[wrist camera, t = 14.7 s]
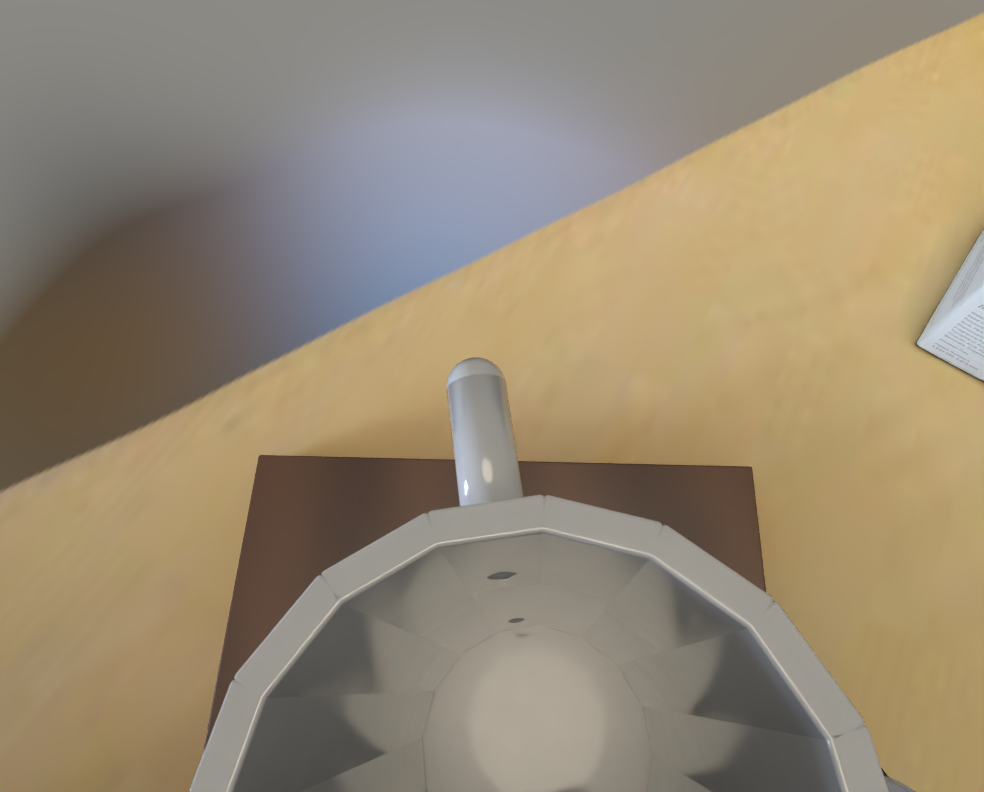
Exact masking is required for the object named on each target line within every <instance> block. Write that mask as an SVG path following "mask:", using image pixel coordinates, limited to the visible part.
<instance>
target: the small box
mask: <svg viewBox="0 0 984 792" xmlns="http://www.w3.org/2000/svg"><path fill="white" fill-rule="evenodd" d="M917 344H918V345H919V346H920V347H922V348H923V349H925V350H927V351H929V352H930V353H932V354H934V355H936V356H938V357H939V358H942V359H943V360H945V361H947V362H949V363H950V364H952V365H954V366H956V367H958V368H960V369H962V370H964V371H965V372H967V373H969V374H971V375H973V376H975V377H977V378H978V379H980V380H982V381H984V230H983V232H982V233H981V235H980V236H979V238H978V240H977V241H976V243H975V245H974V246H973V248H972V250H971V251H970V253H969V254H968V256H967V258H966V260H965V261H964V263H963V265H962V266H961V268H960V270H959V271H958V273H957V275H956V276H955V278H954V280H953V281H952V283H951V285H950V287H949V288H948V290H947V292H946V293H945V295H944V297H943V298H942V300H941V302H940V304H939V305H938V307H937V309H936V310H935V312H934V314H933V316H932V317H931V319H930V321H929V322H928V324H927V326H926V328H925V329H924V331H923V333H922V335H921V336H920V338H919V340H918V342H917Z"/></svg>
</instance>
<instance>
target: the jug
mask: <svg viewBox="0 0 984 792" xmlns="http://www.w3.org/2000/svg"><path fill="white" fill-rule="evenodd" d="M447 398H448V407H449V415H450V424H451V433H452V442H453V450H454V459H455V468H456V476H457V485H458V494H459V502H460V506H458V507H451V508H444V509H438V510H431V511H430V512H428V514H427V513H423V514H421V515H419V516H417V517H416V518H414V519H412V520H410V521H409V522H407V523H405V524H404V525H402V526H400V527H398V528H397V529H395V530H393V531H391V532H390V533H388V534H386V535H384V536H383V537H381V538H379V539H378V540H376V541H374V542H372V543H371V544H369V545H367V546H365V547H364V548H362V549H360V550H358V551H357V552H355V553H353V554H352V555H350V556H348V557H346V558H345V559H343V560H341V561H339V562H338V563H336V564H334V565H332V566H331V567H329V568H327V569H326V570H324V571H323V572H322V575H319V576H317V577H316V578H315V579H314V580H313V581H312V583H311V584H310V585H309V586H308V587H307V589H306V590H305V591H304V592H303V593H302V595H301V596H300V597H299V598H298V599H297V601H296V602H295V603H294V604H293V606H292V607H291V608H290V609H289V610H288V612H287V613H286V614H285V615H284V616H283V618H282V619H281V620H280V621H279V622H278V624H277V625H276V626H275V627H274V628H273V630H272V631H271V632H270V633H269V634H268V636H267V637H266V638H265V639H264V640H263V642H262V643H261V644H260V645H259V646H258V648H257V649H256V650H255V651H254V652H253V654H252V655H251V656H250V657H249V658H248V660H247V661H246V662H245V663H244V664H243V666H242V667H241V668H240V669H239V670H238V672H237V673H236V675H235V677H234V678H235V680H233V681H232V682H231V683H230V685H229V688H228V691H227V693H226V696H225V699H224V701H223V704H222V706H221V709H220V712H219V714H218V717H217V719H216V722H215V725H214V727H213V730H212V732H211V735H210V738H209V740H208V743H207V746H206V748H205V751H204V753H203V756H202V759H201V761H200V764H199V766H198V769H197V772H196V774H195V777H194V780H193V782H192V785H191V787H190V790H189V792H889V791H888V787H887V784H886V781H885V778H884V775H883V772H882V769H881V766H880V763H879V760H878V757H877V754H876V750H875V747H874V744H873V741H872V738H871V735H870V732H869V729H868V728H867V726H866V725H864V723H865V722H864V720H863V718H862V716H861V715H860V714H859V712H858V711H857V710H856V708H855V707H854V706H853V704H852V703H851V701H850V700H849V699H848V697H847V696H846V695H845V693H844V692H843V691H842V689H841V688H840V686H839V685H838V684H837V682H836V681H835V680H834V678H833V677H832V676H831V674H830V673H829V672H828V670H827V669H826V667H825V666H824V665H823V663H822V662H821V661H820V659H819V658H818V657H817V655H816V654H815V653H814V651H813V650H812V648H811V647H810V646H809V644H808V643H807V642H806V640H805V639H804V638H803V636H802V635H801V633H800V632H799V631H798V629H797V628H796V627H795V625H794V624H793V623H792V621H791V620H790V619H789V617H788V616H787V614H786V613H785V612H784V610H783V609H782V608H781V606H780V605H779V604H778V603H777V602H775V601H773V598H772V597H771V596H770V595H769V594H767V593H766V592H764V591H763V590H761V589H760V588H758V587H757V586H755V585H754V584H753V583H751V582H750V581H748V580H747V579H745V578H744V577H742V576H741V575H739V574H738V573H736V572H735V571H733V570H732V569H731V568H729V567H728V566H726V565H725V564H723V563H722V562H720V561H719V560H717V559H716V558H714V557H713V556H712V555H710V554H709V553H707V552H706V551H704V550H703V549H701V548H700V547H698V546H697V545H695V544H694V543H693V542H691V541H690V540H688V539H687V538H685V537H684V536H682V535H681V534H679V533H678V532H676V531H675V530H674V529H672V528H671V527H669V526H667V525H663V526H662V524H661V523H660V522H658V521H654V520H650V519H646V518H642V517H638V516H634V515H629V514H625V513H621V512H617V511H613V510H609V509H605V508H600V507H596V506H592V505H588V504H584V503H580V502H576V501H571V500H567V499H563V498H559V497H555V496H551V495H546V496H545V497H544V496H543V495H533V496H527V497H524V496H523V490H522V483H521V477H520V470H519V464H518V457H517V451H516V445H515V438H514V432H513V425H512V419H511V412H510V406H509V400H508V393H507V387H506V381H505V378H504V375H503V373H502V371H501V370H500V369H499V367H498V366H497V365H496V364H494V363H493V362H491V361H489V360H487V359H484V358H478V357H477V358H469V359H465V360H463V361H461V362H460V363H458V364H457V365H456V366H455V367H454V368H453V369H452V371H451V372H450V374H449V377H448V380H447Z"/></svg>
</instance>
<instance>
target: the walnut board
mask: <svg viewBox="0 0 984 792" xmlns="http://www.w3.org/2000/svg"><path fill="white" fill-rule="evenodd" d="M518 464H519V470H520V477H521V483H522V490H523V496H524V497H527V496H533V495H543V496H544V497H545V496H546V495H551V496H555V497H559V498H563V499H567V500H571V501H576V502H580V503H584V504H588V505H592V506H596V507H600V508H605V509H609V510H613V511H617V512H621V513H625V514H629V515H634V516H638V517H642V518H646V519H650V520H654V521H658V522H660V523H661V524H662V526H663V525H667V526H669V527H671V528H672V529H674V530H675V531H676V532H678V533H679V534H681V535H682V536H684V537H685V538H687V539H688V540H690V541H691V542H693V543H694V544H695V545H697V546H698V547H700V548H701V549H703V550H704V551H706V552H707V553H709V554H710V555H712V556H713V557H714V558H716V559H717V560H719V561H720V562H722V563H723V564H725V565H726V566H728V567H729V568H731V569H732V570H733V571H735V572H736V573H738V574H739V575H741V576H742V577H744V578H745V579H747V580H748V581H750V582H751V583H753V584H754V585H755V586H757V587H758V588H760V589H761V590H763V591H764V592H766V587H765V578H764V569H763V560H762V551H761V543H760V534H759V525H758V516H757V507H756V499H755V490H754V481H753V472H752V467H739V466H697V465H655V464H613V463H571V462H528V461H518ZM458 506H460V502H459V494H458V485H457V476H456V468H455V460H444V459H402V458H360V457H317V456H275V455H260V456H259V458H258V463H257V469H256V474H255V479H254V485H253V490H252V495H251V501H250V506H249V511H248V517H247V522H246V527H245V533H244V538H243V543H242V549H241V554H240V559H239V565H238V570H237V575H236V581H235V586H234V591H233V597H232V602H231V607H230V613H229V618H228V623H227V628H226V634H225V639H224V644H223V650H222V655H221V660H220V666H219V671H218V676H217V682H216V687H215V692H214V698H213V703H212V708H211V714H210V719H209V724H208V730H207V735H206V740H205V746H204V751H205V748H206V746H207V743H208V740H209V738H210V735H211V732H212V730H213V727H214V725H215V722H216V719H217V717H218V714H219V712H220V709H221V706H222V704H223V701H224V699H225V696H226V693H227V691H228V688H229V685H230V683H231V682H232V681H233V680H235V678H234V677H235V675H236V673H237V672H238V670H239V669H240V668H241V667H242V666H243V664H244V663H245V662H246V661H247V660H248V658H249V657H250V656H251V655H252V654H253V652H254V651H255V650H256V649H257V648H258V646H259V645H260V644H261V643H262V642H263V640H264V639H265V638H266V637H267V636H268V634H269V633H270V632H271V631H272V630H273V628H274V627H275V626H276V625H277V624H278V622H279V621H280V620H281V619H282V618H283V616H284V615H285V614H286V613H287V612H288V610H289V609H290V608H291V607H292V606H293V604H294V603H295V602H296V601H297V599H298V598H299V597H300V596H301V595H302V593H303V592H304V591H305V590H306V589H307V587H308V586H309V585H310V584H311V583H312V581H313V580H314V579H315V578H316V577H317V576H319V575H322V572H323V571H324V570H326V569H327V568H329V567H331V566H332V565H334V564H336V563H338V562H339V561H341V560H343V559H345V558H346V557H348V556H350V555H352V554H353V553H355V552H357V551H358V550H360V549H362V548H364V547H365V546H367V545H369V544H371V543H372V542H374V541H376V540H378V539H379V538H381V537H383V536H384V535H386V534H388V533H390V532H391V531H393V530H395V529H397V528H398V527H400V526H402V525H404V524H405V523H407V522H409V521H410V520H412V519H414V518H416V517H417V516H419V515H421V514H423V513H427V514H428V512H430V511H431V510H438V509H444V508H451V507H458ZM204 751H203V753H204Z"/></svg>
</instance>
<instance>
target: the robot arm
mask: <svg viewBox="0 0 984 792" xmlns="http://www.w3.org/2000/svg"><path fill="white" fill-rule="evenodd" d="M881 769H882V768H881ZM882 772H883V775H884V778H885V781H886V784H887V787H888V791H889V792H915V791H914V790H912V789H911V788H909V787H908V786H906V785H904V784H902V783H901V782H899V781H896V780H894V779H892V778H889V777H888V776H887V774H886V773H885V772H884V771H883V769H882Z"/></svg>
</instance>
